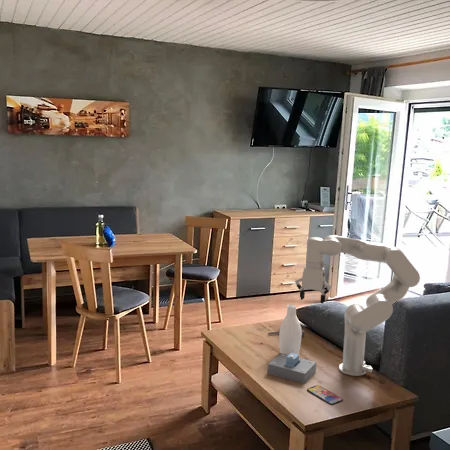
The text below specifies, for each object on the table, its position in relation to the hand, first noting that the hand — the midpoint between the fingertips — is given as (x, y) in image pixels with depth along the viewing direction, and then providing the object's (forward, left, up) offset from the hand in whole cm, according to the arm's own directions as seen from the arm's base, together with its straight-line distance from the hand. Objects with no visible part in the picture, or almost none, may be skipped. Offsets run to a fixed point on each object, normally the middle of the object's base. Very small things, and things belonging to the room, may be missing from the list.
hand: (312, 300), depth 237 cm
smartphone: (-15, +20, -34) cm, 42 cm away
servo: (+5, +8, -33) cm, 34 cm away
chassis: (+5, +8, -33) cm, 35 cm away
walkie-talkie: (+25, -32, -34) cm, 53 cm away
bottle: (+14, -10, -34) cm, 38 cm away
